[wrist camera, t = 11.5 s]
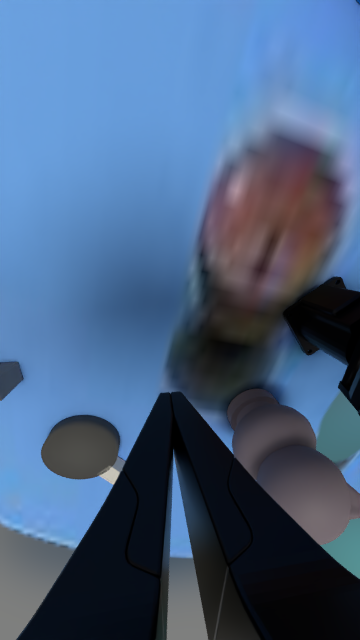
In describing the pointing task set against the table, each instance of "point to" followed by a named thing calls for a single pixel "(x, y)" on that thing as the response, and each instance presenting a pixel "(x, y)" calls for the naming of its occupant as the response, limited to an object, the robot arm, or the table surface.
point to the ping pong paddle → (83, 449)
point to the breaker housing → (9, 377)
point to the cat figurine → (291, 464)
